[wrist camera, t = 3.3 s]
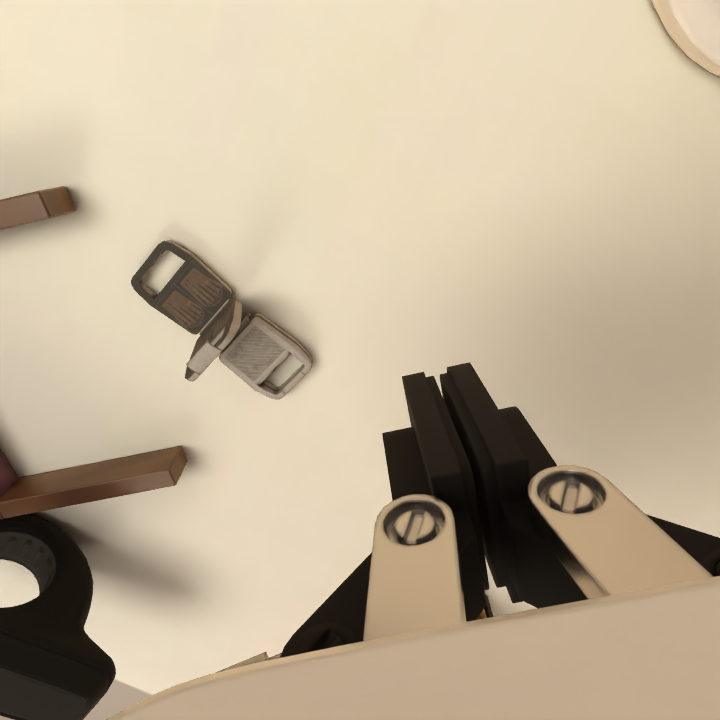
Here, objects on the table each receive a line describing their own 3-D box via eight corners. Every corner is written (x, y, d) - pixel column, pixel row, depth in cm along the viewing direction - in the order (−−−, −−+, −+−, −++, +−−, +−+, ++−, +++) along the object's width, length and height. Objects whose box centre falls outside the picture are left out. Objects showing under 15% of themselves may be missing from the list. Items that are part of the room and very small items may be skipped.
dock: (66, 185, 20) (38, 190, 18) (188, 461, 26) (176, 485, 24) (-159, 238, 20) (-208, 248, 19) (10, 495, 26) (-15, 522, 24)
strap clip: (319, 356, 23) (314, 400, 19) (278, 397, 24) (266, 447, 20) (169, 232, 21) (130, 254, 17) (129, 283, 21) (83, 315, 18)
